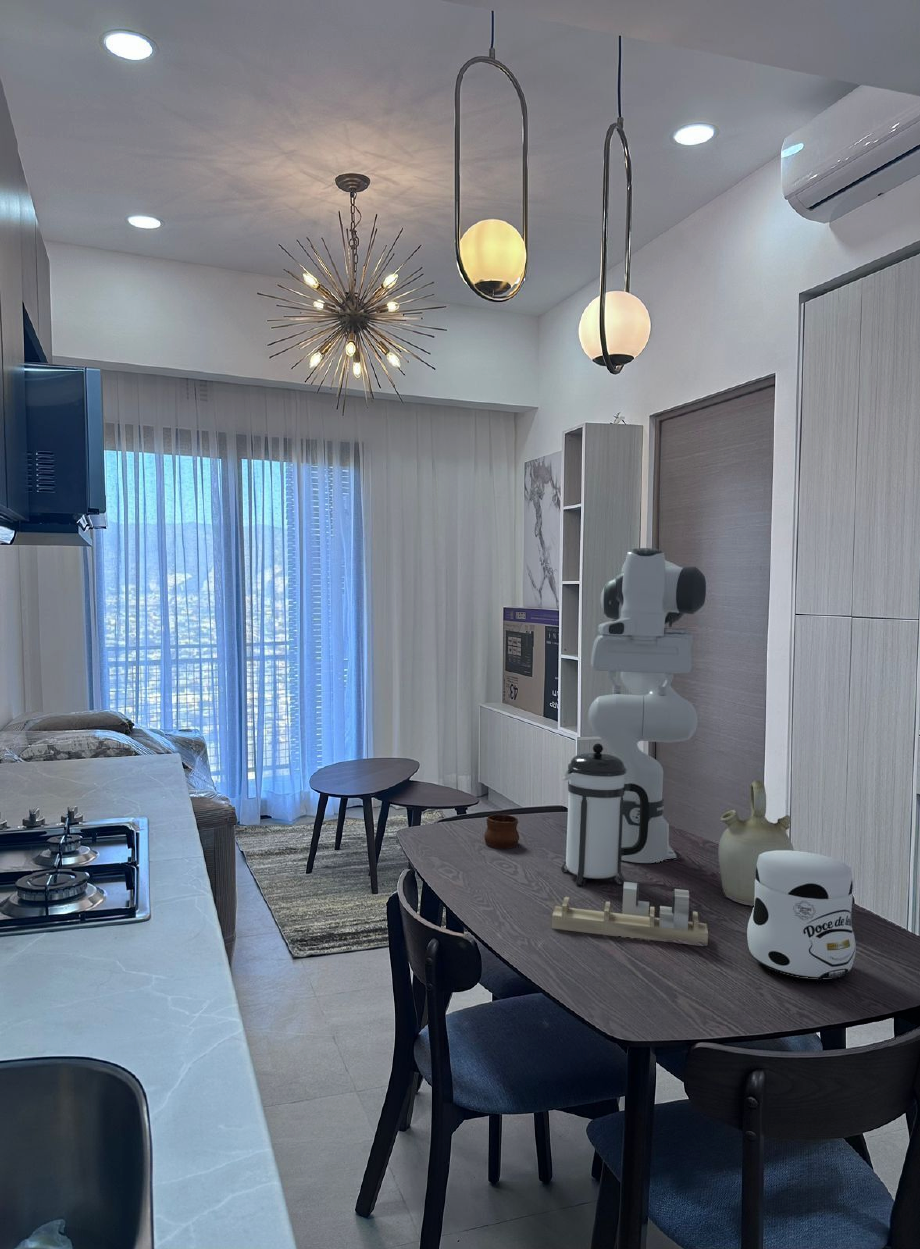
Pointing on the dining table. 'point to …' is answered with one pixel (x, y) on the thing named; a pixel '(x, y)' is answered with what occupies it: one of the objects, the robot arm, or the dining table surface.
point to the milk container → (802, 915)
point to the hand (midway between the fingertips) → (639, 694)
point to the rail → (635, 921)
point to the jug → (749, 844)
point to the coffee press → (599, 816)
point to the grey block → (633, 901)
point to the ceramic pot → (501, 831)
